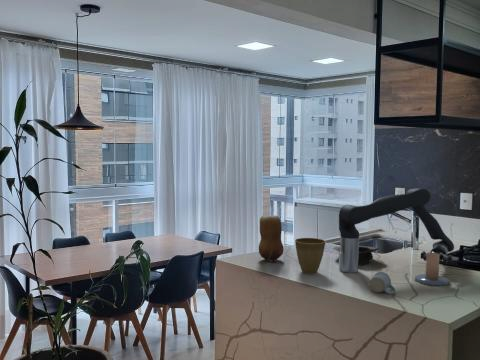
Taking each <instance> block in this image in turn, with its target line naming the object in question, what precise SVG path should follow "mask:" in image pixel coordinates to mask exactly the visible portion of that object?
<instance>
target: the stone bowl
mask: <svg viewBox="0 0 480 360" xmlns="http://www.w3.org/2000/svg"><path fill="white" fill-rule="evenodd" d="M332 249H333V250H335V251H336V252H339V250H340V246H335V247H333V248H332ZM379 249H380V247H378V248H377V247H373V246H365V245H364V246H363V245H359V253H358V266H359V265H364V264H369V263H370V262H371V261H372V260H373V259H374V256H373V252H376V251H379Z"/></svg>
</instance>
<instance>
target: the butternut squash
mask: <svg viewBox="0 0 480 360" xmlns="http://www.w3.org/2000/svg"><path fill="white" fill-rule="evenodd" d="M282 231H283V230H282V220H281V218H280V217H279V216H278V215H276V214H275V215H272V214H271V215H266V214H265V215H262V216H260V218H259V234H260V241H259V243H258V254H259V255H260V257H261V258H263V259H264V260H266V261H269V262H276V261H277V260H278V259H280V257H281V256H282V255H283V254H284V245H283V242H282Z"/></svg>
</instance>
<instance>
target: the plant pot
mask: <svg viewBox="0 0 480 360" xmlns="http://www.w3.org/2000/svg"><path fill="white" fill-rule="evenodd" d="M294 242H295V243H294V244H295V251H296V256H297V260H298V263H299V267H300V269H301V272H302V273H303V274H306V275H307V274H308V275H315V274H317V273H318V271H319V268H320V265H321V263H322V259H323V256H324V251H325V247H326V240H324V239H322V238H321V239H320V238H314V237H299V238H296V239H295V240H294Z"/></svg>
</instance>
